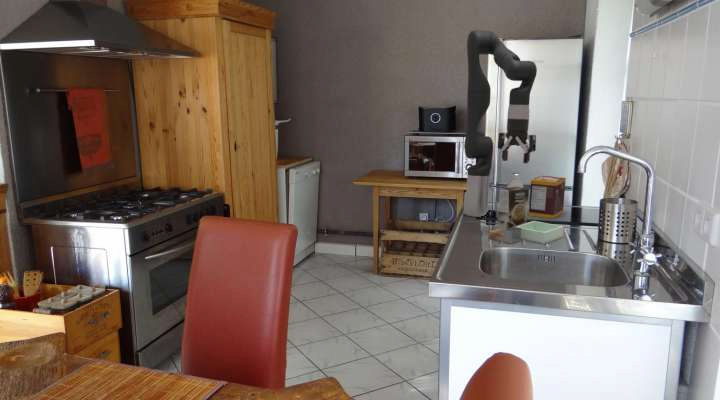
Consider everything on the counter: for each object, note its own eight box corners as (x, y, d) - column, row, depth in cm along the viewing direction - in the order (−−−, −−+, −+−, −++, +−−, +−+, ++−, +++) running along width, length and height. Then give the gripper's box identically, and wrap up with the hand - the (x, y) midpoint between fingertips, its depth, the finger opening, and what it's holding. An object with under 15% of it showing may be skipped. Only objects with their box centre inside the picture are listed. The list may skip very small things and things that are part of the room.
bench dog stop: (503, 242, 185) (504, 229, 184) (512, 239, 189) (513, 226, 188) (511, 244, 182) (511, 231, 182) (520, 240, 186) (521, 228, 186)
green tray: (513, 237, 191) (514, 226, 190) (533, 231, 200) (533, 220, 199) (544, 244, 182) (544, 232, 182) (562, 237, 192) (563, 226, 191)
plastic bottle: (503, 223, 211) (506, 173, 207) (505, 220, 217) (508, 171, 213) (520, 225, 208) (523, 174, 205) (522, 221, 215) (525, 172, 211)
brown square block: (488, 239, 189) (489, 231, 188) (498, 236, 193) (498, 228, 192) (503, 243, 185) (503, 234, 184) (512, 240, 189) (513, 231, 188)
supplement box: (563, 212, 232) (566, 177, 229) (552, 219, 220) (555, 181, 217) (539, 209, 238) (542, 175, 235) (528, 215, 226) (530, 179, 223)
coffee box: (508, 233, 196) (511, 190, 193) (496, 229, 202) (498, 187, 199) (526, 230, 200) (529, 188, 197) (514, 227, 206) (517, 186, 203)
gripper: (495, 117, 195) (492, 160, 198) (530, 118, 185) (527, 165, 188) (506, 116, 200) (504, 159, 203) (541, 118, 190) (538, 163, 193)
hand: (515, 162), depth 196 cm, fingers open, 8 cm apart
